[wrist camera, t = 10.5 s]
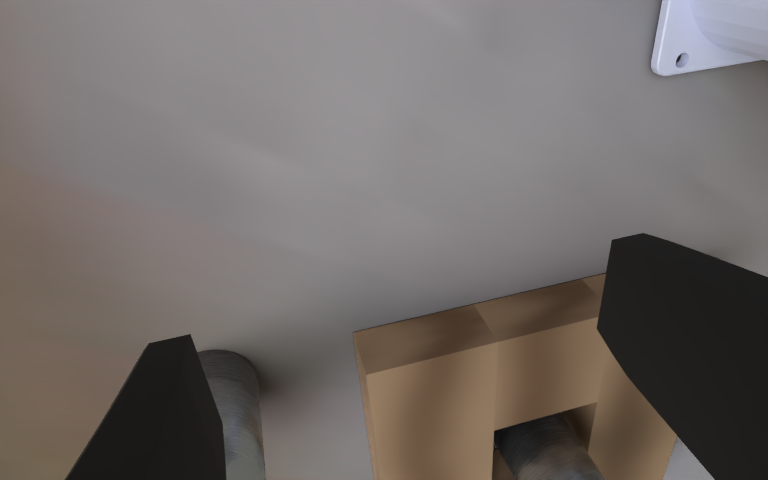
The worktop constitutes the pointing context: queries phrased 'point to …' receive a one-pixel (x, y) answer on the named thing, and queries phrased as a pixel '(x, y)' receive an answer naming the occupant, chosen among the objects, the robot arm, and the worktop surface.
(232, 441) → the short pin
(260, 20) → the worktop surface
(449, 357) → the hole plate
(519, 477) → the long pin
